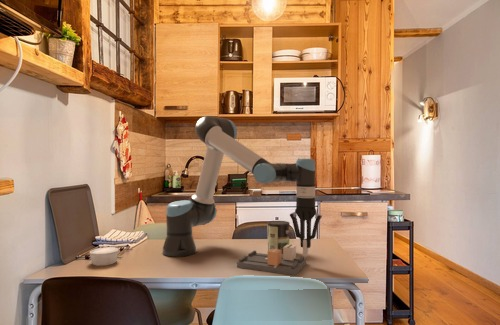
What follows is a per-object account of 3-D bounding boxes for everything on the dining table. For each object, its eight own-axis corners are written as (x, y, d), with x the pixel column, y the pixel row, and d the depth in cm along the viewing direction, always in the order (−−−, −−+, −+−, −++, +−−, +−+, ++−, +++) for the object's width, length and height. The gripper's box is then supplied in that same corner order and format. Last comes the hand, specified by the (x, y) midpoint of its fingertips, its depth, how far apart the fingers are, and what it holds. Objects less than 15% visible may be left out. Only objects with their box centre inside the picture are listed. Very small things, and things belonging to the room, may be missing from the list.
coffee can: (290, 250, 162) (290, 220, 162) (288, 256, 151) (288, 224, 151) (268, 249, 164) (268, 220, 164) (265, 255, 154) (265, 223, 153)
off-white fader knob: (283, 259, 139) (283, 246, 139) (286, 256, 143) (287, 244, 143) (292, 260, 137) (292, 247, 137) (296, 257, 142) (296, 245, 142)
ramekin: (90, 260, 145) (90, 248, 145) (118, 258, 149) (118, 245, 149) (88, 268, 135) (88, 254, 135) (118, 265, 139) (118, 252, 139)
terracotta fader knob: (267, 264, 132) (267, 251, 132) (272, 261, 136) (272, 248, 136) (277, 265, 130) (277, 252, 130) (281, 262, 135) (281, 249, 135)
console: (236, 267, 136) (236, 259, 136) (253, 256, 151) (253, 250, 151) (294, 275, 126) (294, 267, 126) (306, 263, 141) (306, 256, 141)
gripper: (287, 197, 137) (287, 256, 137) (319, 198, 131) (319, 260, 131) (292, 195, 144) (292, 251, 144) (323, 196, 138) (323, 255, 138)
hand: (305, 255), depth 138 cm, fingers closed
